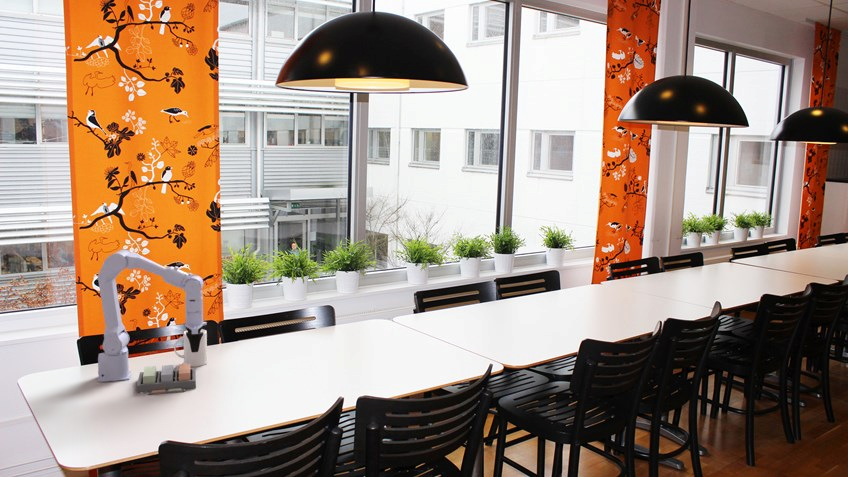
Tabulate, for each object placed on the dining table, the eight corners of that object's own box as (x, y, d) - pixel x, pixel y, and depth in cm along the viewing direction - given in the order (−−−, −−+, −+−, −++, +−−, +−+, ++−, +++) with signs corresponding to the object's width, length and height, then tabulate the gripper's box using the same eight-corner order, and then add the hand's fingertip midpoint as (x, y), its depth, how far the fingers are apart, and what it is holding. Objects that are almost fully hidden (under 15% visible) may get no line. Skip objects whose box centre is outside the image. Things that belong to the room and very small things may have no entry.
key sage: (143, 386, 217) (142, 376, 216) (145, 376, 226) (144, 366, 226) (154, 385, 218) (154, 375, 218) (156, 375, 227) (156, 366, 227)
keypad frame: (137, 393, 215) (136, 385, 215) (140, 379, 227) (139, 372, 227) (195, 388, 221) (195, 380, 221) (195, 375, 233) (195, 368, 233)
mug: (176, 369, 239) (175, 337, 237) (172, 362, 246) (171, 331, 244) (209, 365, 244) (209, 333, 243) (205, 358, 252) (204, 327, 250)
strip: (148, 394, 214) (148, 392, 214) (148, 392, 216) (148, 390, 216) (184, 391, 217) (184, 389, 217) (184, 389, 219) (184, 387, 219)
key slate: (161, 385, 219) (160, 375, 218) (162, 375, 228) (162, 365, 228) (172, 384, 220) (172, 374, 219) (173, 374, 229) (173, 364, 229)
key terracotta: (178, 383, 220) (178, 373, 220) (179, 373, 230) (179, 364, 229) (190, 382, 222) (190, 372, 221) (190, 372, 231) (190, 363, 231)
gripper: (207, 315, 224) (207, 354, 226) (205, 305, 238) (206, 342, 240) (184, 316, 222) (185, 355, 224) (184, 306, 236) (185, 343, 237)
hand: (194, 348), depth 232 cm, fingers open, 7 cm apart
